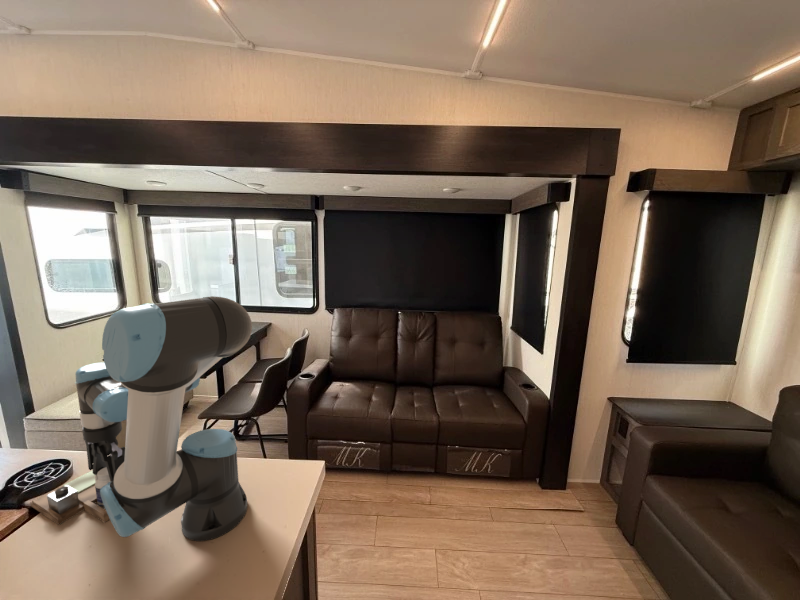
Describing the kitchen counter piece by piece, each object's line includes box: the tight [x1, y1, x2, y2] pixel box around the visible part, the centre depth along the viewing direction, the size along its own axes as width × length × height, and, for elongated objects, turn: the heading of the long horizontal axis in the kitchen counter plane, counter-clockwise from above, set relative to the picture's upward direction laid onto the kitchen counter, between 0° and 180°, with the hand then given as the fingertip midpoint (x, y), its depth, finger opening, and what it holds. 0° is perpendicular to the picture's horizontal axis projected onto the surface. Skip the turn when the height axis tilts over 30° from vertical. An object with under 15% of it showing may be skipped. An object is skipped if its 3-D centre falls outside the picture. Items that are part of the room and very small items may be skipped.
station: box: [29, 469, 110, 525], centre depth 89 cm, size 24×14×2 cm, turn 68°
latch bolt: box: [47, 485, 79, 515], centre depth 86 cm, size 5×4×5 cm
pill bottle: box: [95, 467, 111, 510], centre depth 88 cm, size 5×5×10 cm
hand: (111, 497), depth 89 cm, fingers open, 6 cm apart
